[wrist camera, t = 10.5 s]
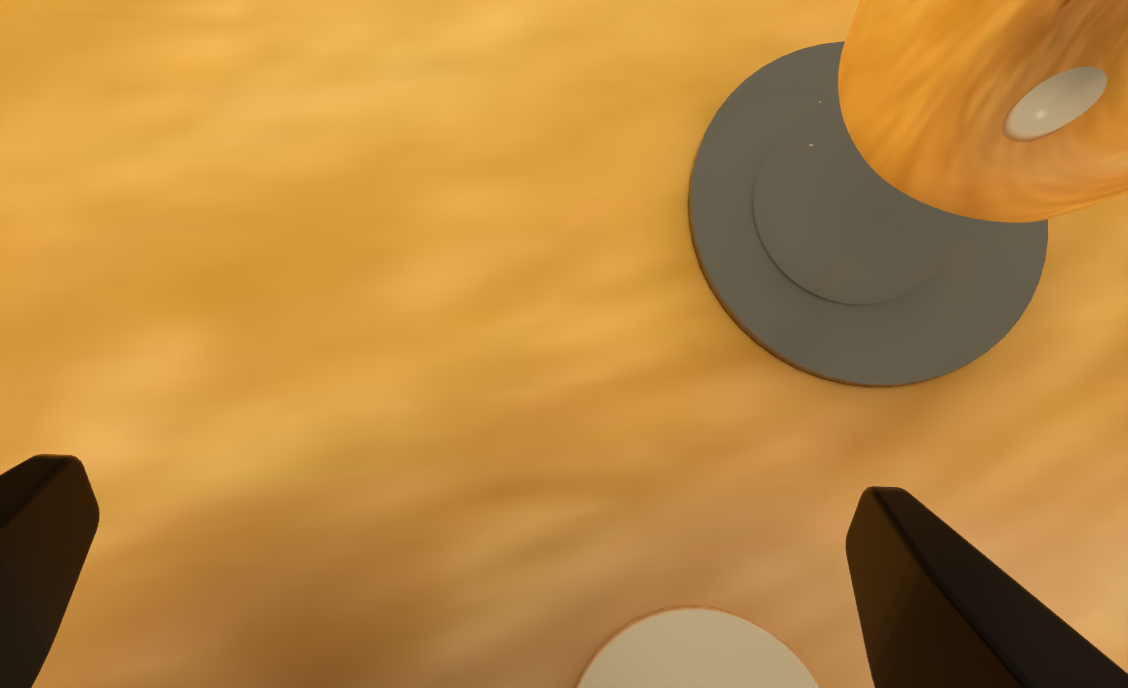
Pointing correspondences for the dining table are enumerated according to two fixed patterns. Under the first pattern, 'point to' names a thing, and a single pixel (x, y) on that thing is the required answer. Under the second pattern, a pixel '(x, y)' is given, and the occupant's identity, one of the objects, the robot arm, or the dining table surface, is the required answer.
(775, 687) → the dish
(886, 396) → the dining table surface
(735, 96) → the coaster
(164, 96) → the dining table surface
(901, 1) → the beer glass
